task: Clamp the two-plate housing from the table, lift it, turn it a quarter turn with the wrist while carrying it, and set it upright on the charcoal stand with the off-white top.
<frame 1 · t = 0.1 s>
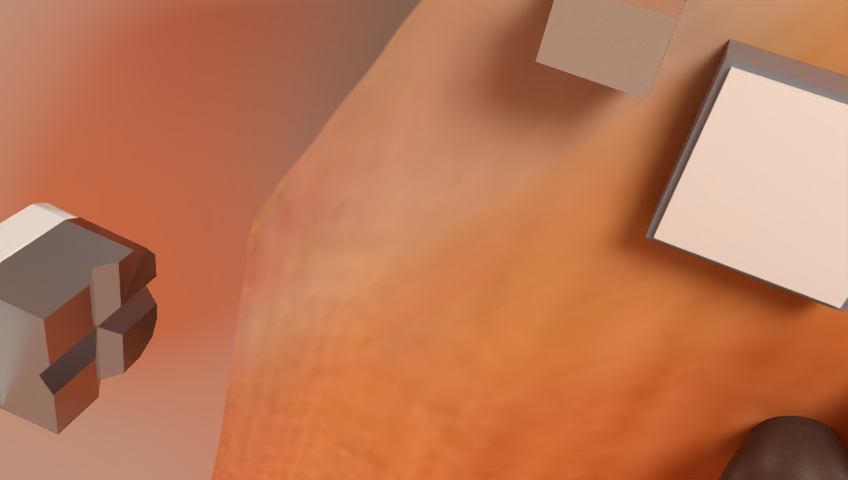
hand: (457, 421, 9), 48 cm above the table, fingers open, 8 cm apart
plant pot: (793, 447, 66), on the table
stand: (788, 168, 54), on the table
housing: (626, 5, 53), on the table
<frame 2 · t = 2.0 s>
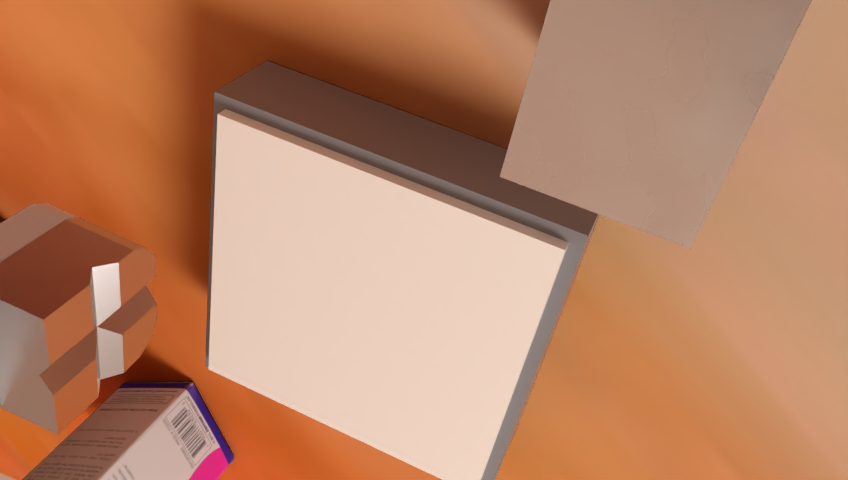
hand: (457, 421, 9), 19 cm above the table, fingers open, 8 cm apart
supplement box: (181, 418, 46), on the table
stand: (398, 265, 34), on the table
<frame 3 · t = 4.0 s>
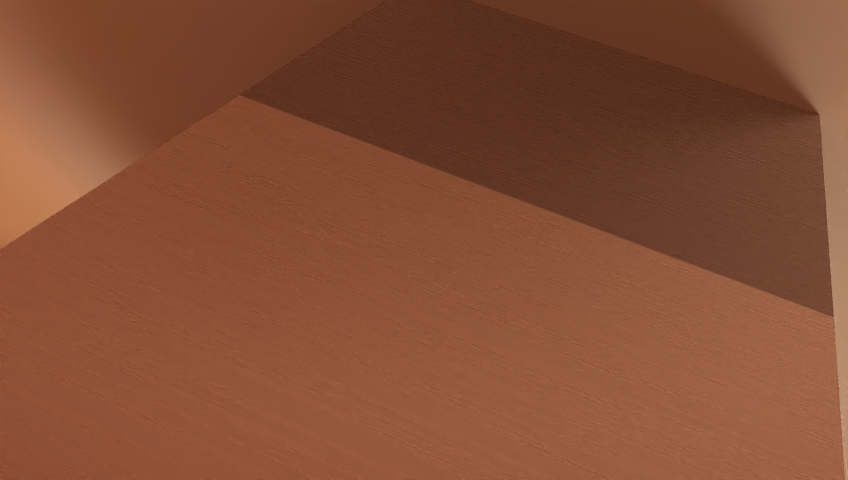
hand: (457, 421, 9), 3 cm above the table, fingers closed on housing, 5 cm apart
housing: (529, 270, 11), on the table, touching gripper
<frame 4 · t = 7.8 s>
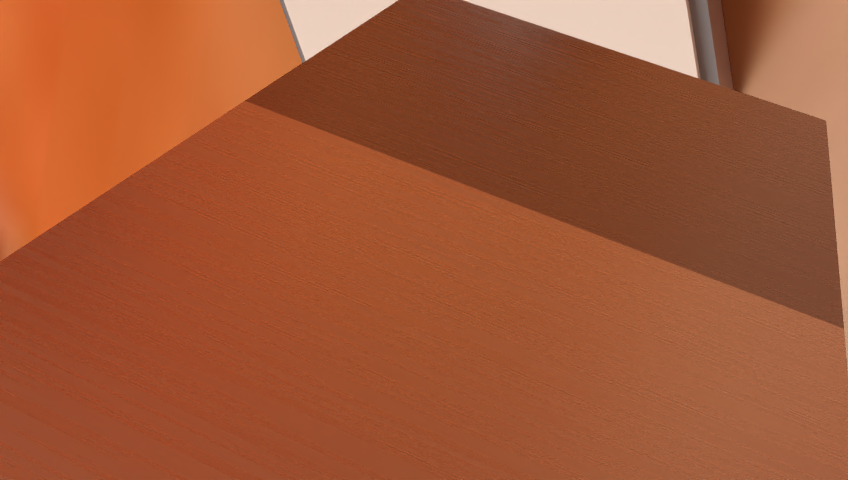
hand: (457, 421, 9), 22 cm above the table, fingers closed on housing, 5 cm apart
housing: (532, 275, 11), point 19 cm above the table, touching gripper
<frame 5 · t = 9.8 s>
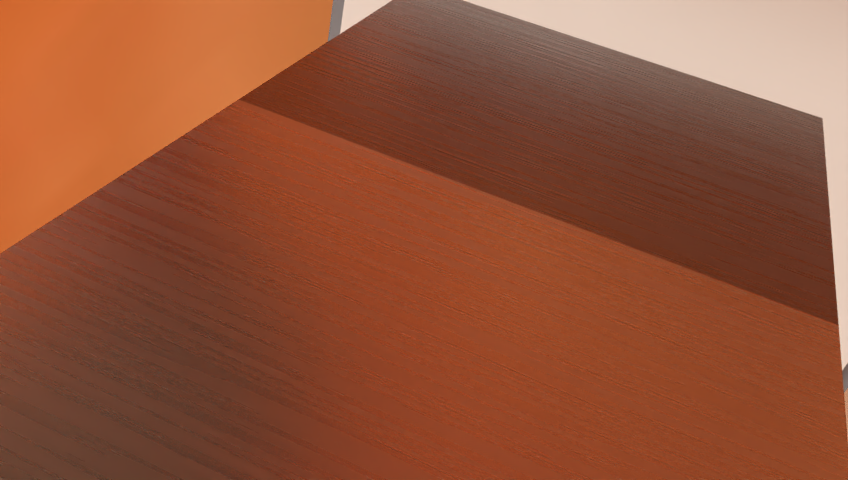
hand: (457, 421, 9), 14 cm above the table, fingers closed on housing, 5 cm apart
stand: (646, 58, 20), on the table
housing: (529, 274, 11), point 11 cm above the table, touching gripper
when the fingers open (9 cm above the table, at t = 11.6 s): housing drops 1 cm, resting on stand.
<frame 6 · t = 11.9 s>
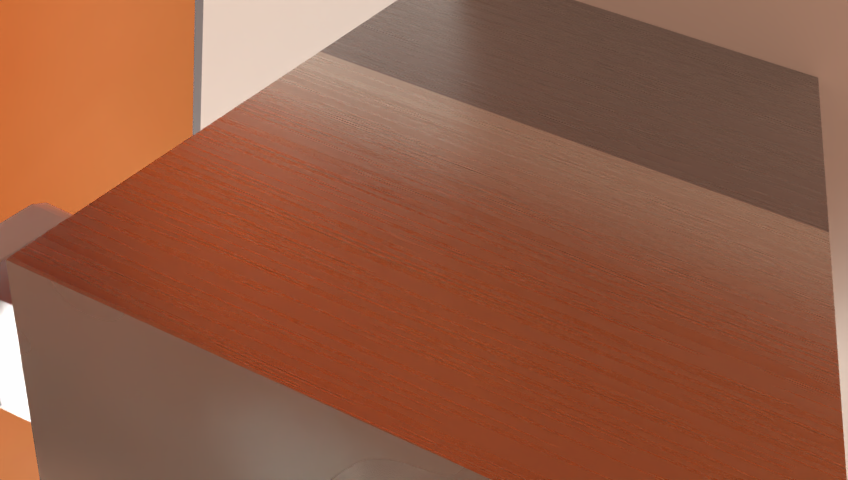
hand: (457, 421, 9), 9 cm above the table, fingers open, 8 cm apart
stand: (601, 126, 16), on the table
housing: (553, 227, 13), point 4 cm above the table, touching stand
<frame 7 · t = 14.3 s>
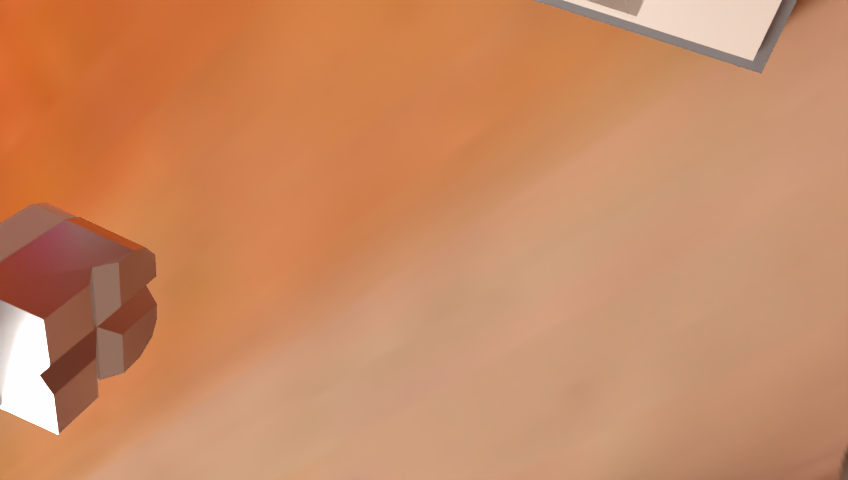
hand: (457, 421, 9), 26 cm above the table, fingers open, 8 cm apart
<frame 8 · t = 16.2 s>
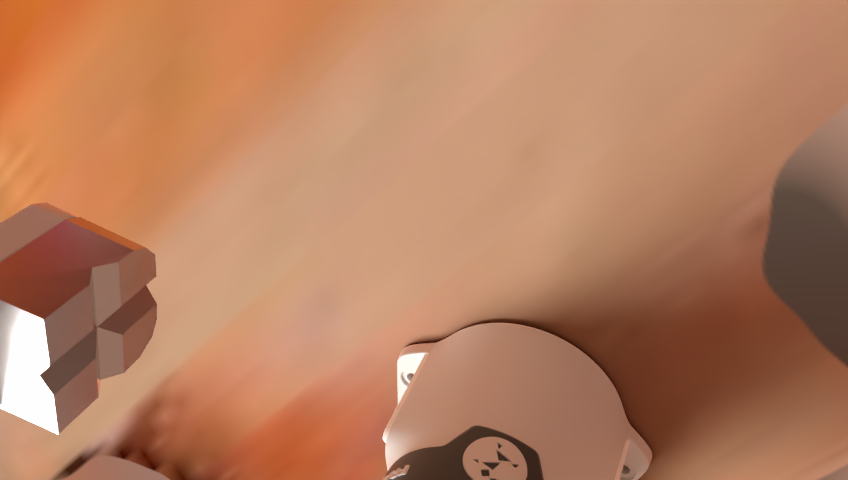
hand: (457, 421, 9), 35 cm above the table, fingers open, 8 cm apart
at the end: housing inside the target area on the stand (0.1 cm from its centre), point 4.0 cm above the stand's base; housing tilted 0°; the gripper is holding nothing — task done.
